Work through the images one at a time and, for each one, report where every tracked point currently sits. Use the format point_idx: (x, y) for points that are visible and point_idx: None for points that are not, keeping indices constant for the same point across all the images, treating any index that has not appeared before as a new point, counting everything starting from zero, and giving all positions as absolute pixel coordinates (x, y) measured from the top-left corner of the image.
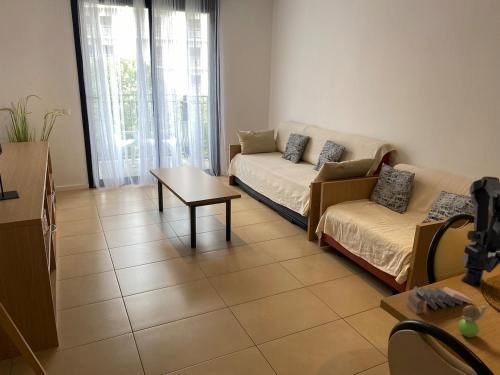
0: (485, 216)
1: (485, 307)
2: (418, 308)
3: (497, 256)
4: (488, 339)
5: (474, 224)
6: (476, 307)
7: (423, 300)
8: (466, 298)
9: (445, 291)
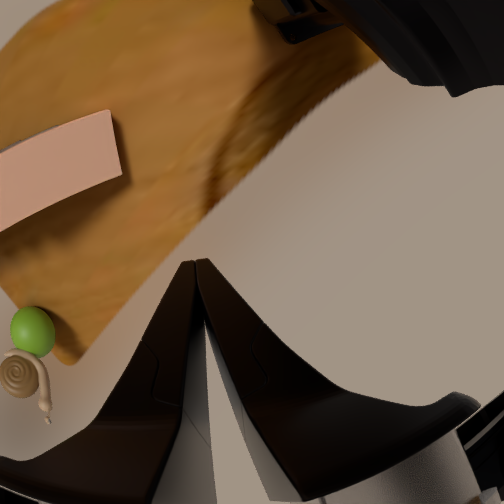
0: None
1: (46, 410)
2: None
3: (267, 489)
4: (85, 329)
5: None
6: (25, 397)
7: None
8: (78, 191)
9: None
